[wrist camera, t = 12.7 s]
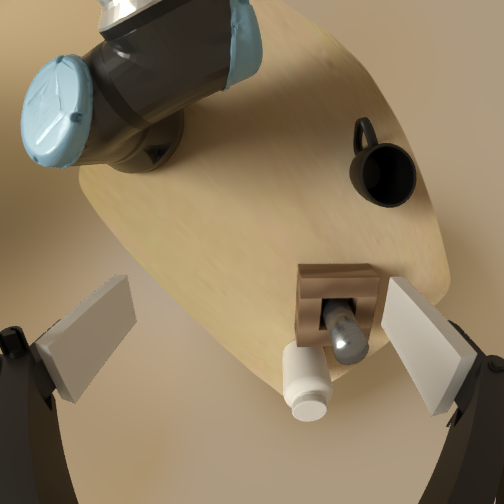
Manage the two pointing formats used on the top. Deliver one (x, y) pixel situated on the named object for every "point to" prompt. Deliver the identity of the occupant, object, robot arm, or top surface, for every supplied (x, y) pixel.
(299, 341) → the socket block
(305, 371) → the pill bottle
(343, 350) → the peg
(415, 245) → the top surface
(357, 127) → the mug
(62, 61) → the robot arm
